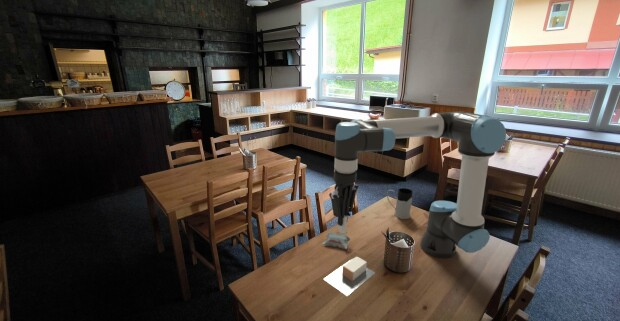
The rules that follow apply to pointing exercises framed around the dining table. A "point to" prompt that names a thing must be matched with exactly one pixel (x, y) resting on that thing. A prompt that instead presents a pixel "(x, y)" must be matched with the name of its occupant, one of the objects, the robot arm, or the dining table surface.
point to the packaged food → (336, 240)
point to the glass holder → (402, 203)
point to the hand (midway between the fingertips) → (342, 231)
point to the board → (347, 280)
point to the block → (354, 268)
